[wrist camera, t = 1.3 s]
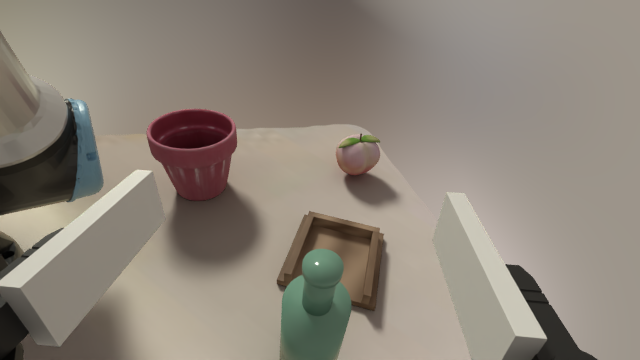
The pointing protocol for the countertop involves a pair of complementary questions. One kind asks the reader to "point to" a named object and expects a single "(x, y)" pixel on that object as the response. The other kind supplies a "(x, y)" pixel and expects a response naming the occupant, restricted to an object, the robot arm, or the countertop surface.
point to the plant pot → (194, 150)
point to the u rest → (346, 241)
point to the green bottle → (315, 309)
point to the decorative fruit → (357, 154)
